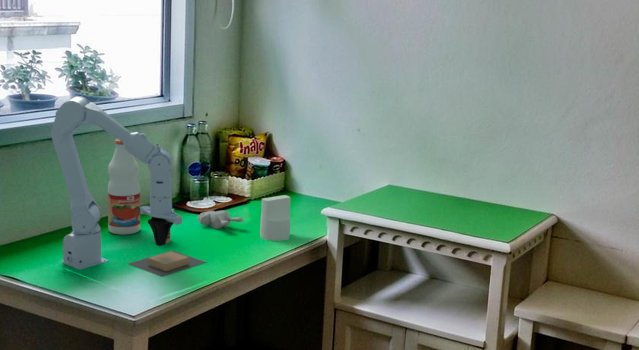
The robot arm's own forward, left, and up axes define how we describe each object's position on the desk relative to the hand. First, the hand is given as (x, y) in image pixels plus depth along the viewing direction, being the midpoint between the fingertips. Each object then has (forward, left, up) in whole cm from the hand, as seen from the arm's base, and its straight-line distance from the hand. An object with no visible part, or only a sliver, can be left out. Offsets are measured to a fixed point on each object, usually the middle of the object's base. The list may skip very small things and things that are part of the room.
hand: (160, 244), depth 224 cm
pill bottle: (+13, +15, -6) cm, 20 cm away
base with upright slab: (+41, -4, -6) cm, 42 cm away
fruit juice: (+12, +31, -6) cm, 33 cm away
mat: (+1, -1, -5) cm, 6 cm away
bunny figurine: (+36, +14, -6) cm, 39 cm away
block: (0, 0, -4) cm, 4 cm away
